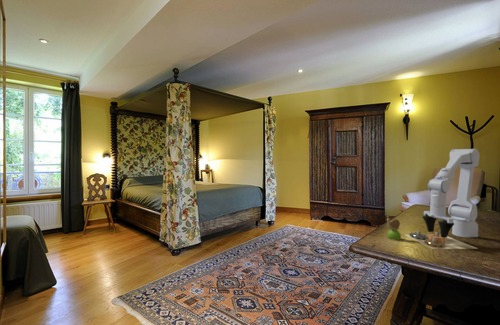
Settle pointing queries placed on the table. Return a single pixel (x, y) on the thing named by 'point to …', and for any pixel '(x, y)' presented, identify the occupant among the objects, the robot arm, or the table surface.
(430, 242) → the gear
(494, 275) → the table surface
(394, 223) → the snail figurine
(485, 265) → the table surface
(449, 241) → the gear board
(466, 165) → the robot arm
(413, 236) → the gear
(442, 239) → the idler gear
